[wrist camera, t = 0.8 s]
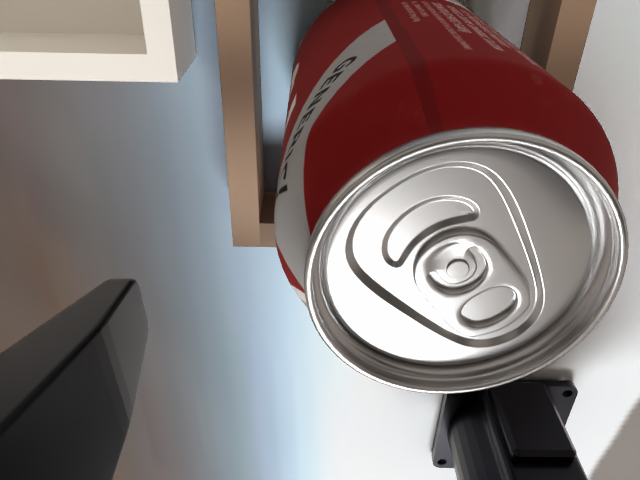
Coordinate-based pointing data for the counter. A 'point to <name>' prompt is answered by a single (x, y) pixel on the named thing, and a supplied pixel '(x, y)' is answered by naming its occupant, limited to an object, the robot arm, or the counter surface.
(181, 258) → the counter surface
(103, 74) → the rimmed tray
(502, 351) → the soda can
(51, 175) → the counter surface
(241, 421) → the counter surface
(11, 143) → the counter surface
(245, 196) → the walnut holder
